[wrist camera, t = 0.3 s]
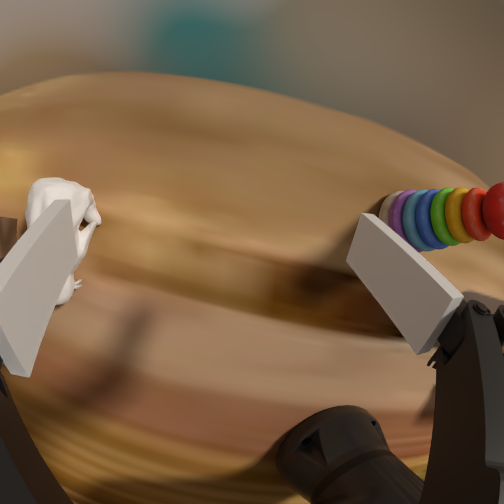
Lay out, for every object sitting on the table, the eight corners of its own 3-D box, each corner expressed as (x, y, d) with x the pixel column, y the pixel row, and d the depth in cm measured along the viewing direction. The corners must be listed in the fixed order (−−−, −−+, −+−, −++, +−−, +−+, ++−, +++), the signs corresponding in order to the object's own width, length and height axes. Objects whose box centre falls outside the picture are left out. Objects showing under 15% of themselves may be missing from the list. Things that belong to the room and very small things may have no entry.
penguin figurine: (78, 179, 18) (61, 330, 19) (110, 189, 26) (93, 301, 27) (18, 170, 17) (5, 310, 18) (60, 180, 25) (46, 288, 26)
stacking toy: (417, 258, 34) (538, 266, 16) (372, 249, 33) (507, 255, 14) (421, 200, 34) (537, 182, 16) (377, 185, 33) (504, 151, 14)
